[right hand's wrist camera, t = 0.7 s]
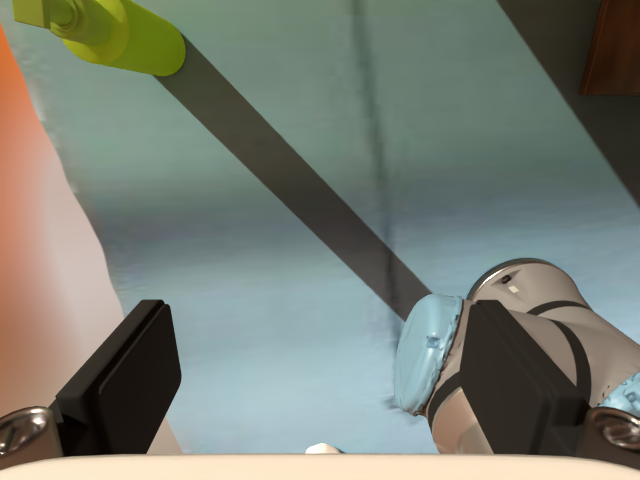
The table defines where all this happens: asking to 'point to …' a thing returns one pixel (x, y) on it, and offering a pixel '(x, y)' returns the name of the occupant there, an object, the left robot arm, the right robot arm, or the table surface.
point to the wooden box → (614, 51)
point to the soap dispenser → (109, 33)
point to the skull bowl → (322, 449)
